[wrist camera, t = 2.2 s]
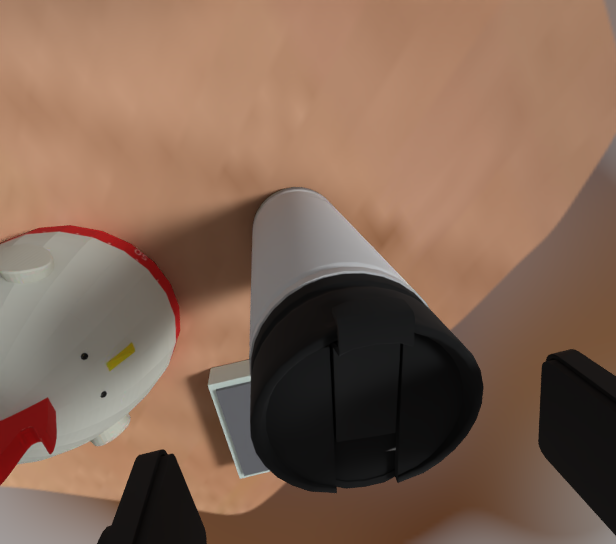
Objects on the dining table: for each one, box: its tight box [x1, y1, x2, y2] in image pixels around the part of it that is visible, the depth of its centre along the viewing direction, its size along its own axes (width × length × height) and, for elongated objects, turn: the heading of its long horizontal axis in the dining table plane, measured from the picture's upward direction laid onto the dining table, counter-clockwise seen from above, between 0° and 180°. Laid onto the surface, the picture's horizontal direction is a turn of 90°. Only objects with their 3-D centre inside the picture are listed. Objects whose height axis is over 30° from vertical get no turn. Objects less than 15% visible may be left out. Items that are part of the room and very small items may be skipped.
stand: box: [208, 360, 270, 479], centre depth 32 cm, size 10×10×2 cm
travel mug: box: [249, 187, 483, 493], centre depth 18 cm, size 6×7×20 cm
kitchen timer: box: [0, 225, 180, 485], centre depth 21 cm, size 14×14×15 cm
